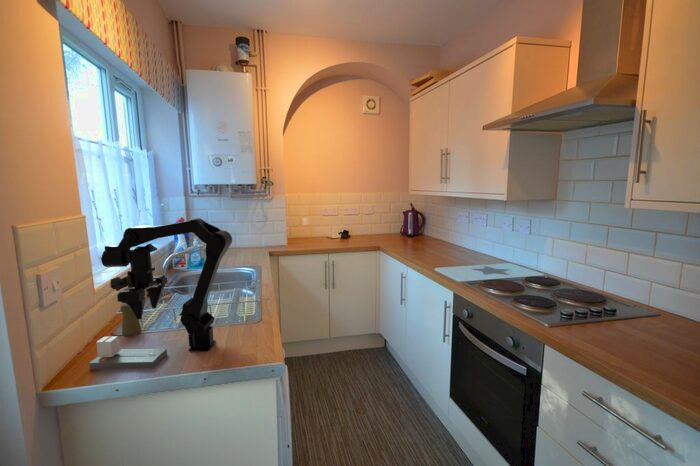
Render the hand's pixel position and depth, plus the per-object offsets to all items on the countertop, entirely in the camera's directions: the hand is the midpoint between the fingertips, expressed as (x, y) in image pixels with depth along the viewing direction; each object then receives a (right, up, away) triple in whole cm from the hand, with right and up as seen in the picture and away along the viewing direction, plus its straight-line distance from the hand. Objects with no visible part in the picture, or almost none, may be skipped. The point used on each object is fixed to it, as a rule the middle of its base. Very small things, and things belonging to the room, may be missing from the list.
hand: (147, 313), depth 111 cm
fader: (-7, -10, -8) cm, 15 cm away
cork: (-13, -10, +13) cm, 22 cm away
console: (-1, -13, -7) cm, 15 cm away
